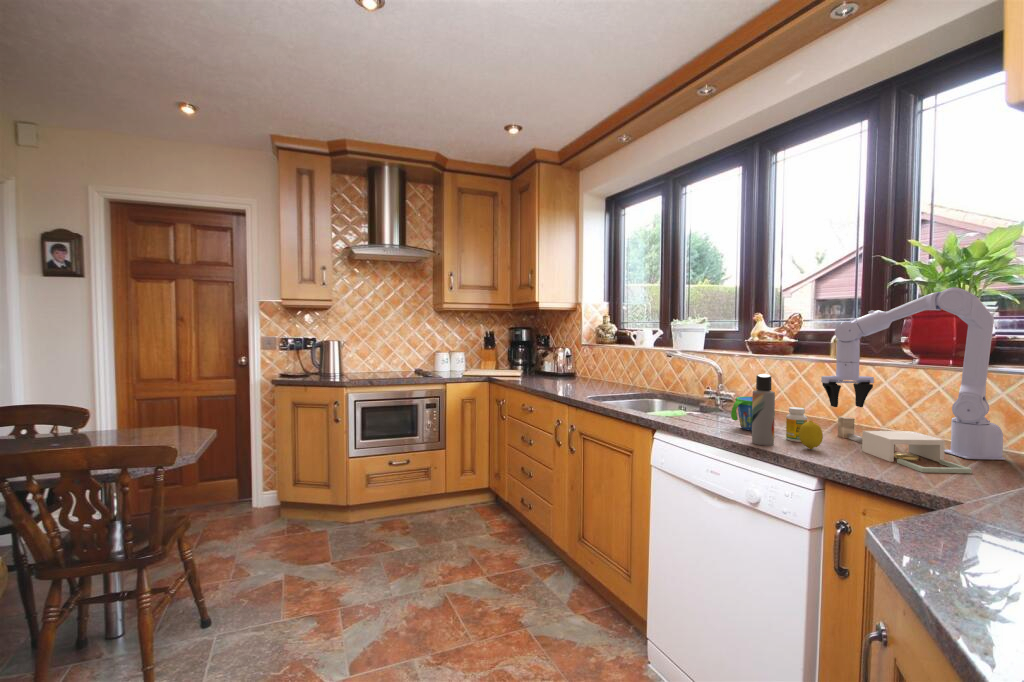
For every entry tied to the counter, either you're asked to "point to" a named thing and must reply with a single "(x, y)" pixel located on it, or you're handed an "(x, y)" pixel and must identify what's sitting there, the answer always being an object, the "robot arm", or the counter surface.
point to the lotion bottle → (763, 411)
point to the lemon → (810, 434)
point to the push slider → (848, 429)
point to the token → (906, 456)
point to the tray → (954, 467)
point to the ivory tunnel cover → (918, 443)
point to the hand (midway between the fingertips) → (846, 406)
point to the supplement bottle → (794, 423)
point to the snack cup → (743, 412)
